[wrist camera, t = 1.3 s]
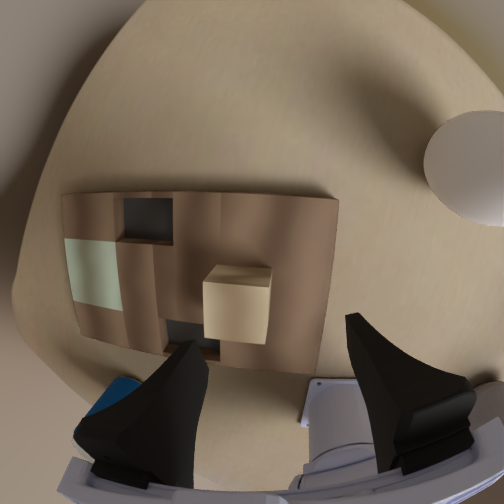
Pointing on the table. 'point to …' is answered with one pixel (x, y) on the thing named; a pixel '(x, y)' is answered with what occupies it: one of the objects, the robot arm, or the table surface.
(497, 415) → the coffee pot
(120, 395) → the beverage can
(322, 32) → the table surface
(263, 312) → the block
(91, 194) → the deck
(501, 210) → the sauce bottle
